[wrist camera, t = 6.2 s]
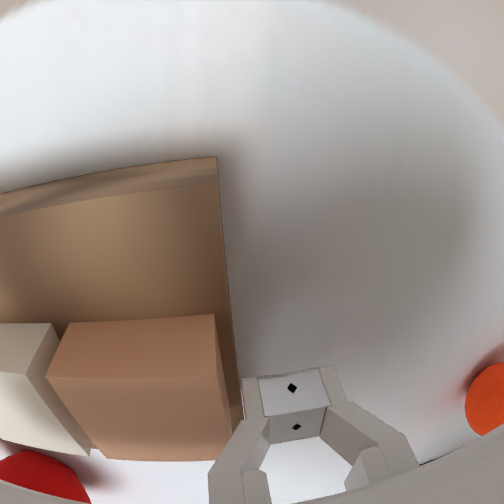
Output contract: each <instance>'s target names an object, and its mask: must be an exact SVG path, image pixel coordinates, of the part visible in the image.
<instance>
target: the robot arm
mask: <svg viewBox="0 0 504 504" xmlns="http://www.w3.org/2000/svg"><path fill="white" fill-rule="evenodd" d="M241 384H242V393H243V402H244V411H245V420H241V422H240V423H239V425H238V427H237V428H236V430H235V431H234V433H233V435H232V436H231V438H230V440H229V441H228V443H227V444H226V446H225V447H224V449H223V451H222V452H221V454H220V455H219V457H218V458H217V460H216V462H215V463H214V465H213V466H212V468H211V469H210V471H209V472H208V488H209V504H272V502H271V497H270V492H269V486H268V481H267V476H266V473H265V472H263V471H261V470H259V468H260V466H261V464H262V462H263V460H264V457H265V455H266V453H267V451H268V449H269V447H270V444H276V443H282V442H287V441H292V440H299V439H305V438H311V437H317V436H320V438H321V439H322V440H323V441H325V442H326V443H327V444H328V445H329V446H330V447H331V448H332V449H333V450H335V451H336V452H337V453H338V454H339V455H340V456H341V457H343V458H344V459H345V460H346V461H347V462H348V463H350V464H351V465H352V466H353V467H352V469H351V471H350V473H349V475H348V476H347V478H346V480H345V481H344V483H345V487H346V490H347V491H346V492H342V493H339V494H335V495H330V496H326V497H322V498H317V499H313V500H308V501H303V502H297V503H292V504H504V423H503V424H502V425H500V426H499V427H497V428H495V429H494V430H492V431H490V432H489V433H487V434H485V435H483V436H482V437H480V438H478V439H476V440H474V441H473V442H471V443H469V444H467V445H465V446H463V447H461V448H459V449H457V450H455V451H453V452H451V453H449V454H447V455H445V456H443V457H440V458H438V459H436V460H434V461H432V462H429V463H427V464H424V465H421V466H419V464H418V462H417V460H416V458H415V456H414V453H413V451H412V449H411V447H410V445H409V443H408V441H407V439H406V437H405V435H403V434H402V433H400V432H398V431H397V430H395V429H394V428H392V427H391V426H389V425H387V424H386V423H384V422H383V421H381V420H380V419H378V418H376V417H375V416H373V415H372V414H370V413H369V412H367V411H366V410H364V409H363V408H361V407H360V406H358V405H357V404H355V403H354V402H348V401H347V399H346V397H345V394H344V392H343V389H342V387H341V385H340V382H339V380H338V377H337V375H336V373H335V370H334V368H333V367H332V366H325V367H320V368H312V369H307V370H301V371H295V372H289V373H285V374H276V375H267V376H257V377H248V378H241ZM0 504H89V503H84V502H79V501H74V500H69V499H64V498H60V497H56V496H52V495H48V494H44V493H41V492H37V491H34V490H30V489H27V488H24V487H21V486H17V485H14V484H12V483H9V482H6V481H3V480H0Z"/></svg>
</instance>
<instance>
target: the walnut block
mask: <svg viewBox="0 0 504 504" xmlns="http://www.w3.org/2000/svg"><path fill="white" fill-rule="evenodd" d="M206 314H214V316H215V322H216V329H217V335H218V342H219V348H220V354H221V360H222V366H223V372H224V378H225V383H226V389H227V395H228V400H229V406H230V415H231V426H232V435H233V433H234V431H235V430H236V428H237V427H238V425H239V423H240V422H241V420H244V415H243V407H242V399H241V391H240V383H239V375H238V367H237V359H236V350H235V342H234V333H233V325H232V316H231V307H230V298H229V288H228V279H227V269H226V260H225V250H224V239H223V229H222V218H221V207H220V196H219V185H218V173H217V161H216V156H215V157H205V158H195V159H186V160H177V161H169V162H162V163H154V164H147V165H140V166H134V167H127V168H121V169H115V170H109V171H103V172H98V173H92V174H87V175H82V176H77V177H72V178H67V179H62V180H58V181H53V182H48V183H44V184H40V185H35V186H31V187H27V188H23V189H19V190H15V191H11V192H8V193H4V194H0V323H52V326H53V328H54V330H55V332H56V334H57V336H58V338H59V340H60V342H61V340H62V337H63V335H64V333H65V331H66V329H67V327H68V325H69V323H75V322H102V321H122V320H140V319H155V318H169V317H182V316H194V315H206ZM91 448H93V449H98V448H97V447H96V445H95V444H94V443H93V442H92V445H91Z"/></svg>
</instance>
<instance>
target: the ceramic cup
mask: <svg viewBox="0 0 504 504" xmlns="http://www.w3.org/2000/svg"><path fill="white" fill-rule="evenodd" d="M0 480H3V481H6V482H9V483H12V484H14V485H17V486H21V487H24V488H27V489H30V490H34V491H37V492H41V493H44V494H48V495H52V496H56V497H60V498H64V499H69V500H74V501H79V502H84V503H89V504H91V501H90V499H89V497H88V495H87V493H86V491H85V489H84V487H83V486H82V484H81V483H80V481H79V480H78V478H77V475H76V474H75V472H74V471H73V470H71V469H70V468H69V467H67V466H66V465H64V464H63V463H61V462H59V461H57V460H55V459H53V458H51V457H48V456H46V455H44V454H41V453H38V452H34V451H30V450H22V451H21V452H19V453H16V454H13V455H11V456H8V457H6V458H4V459H3V460H1V461H0Z"/></svg>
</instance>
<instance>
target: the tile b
mask: <svg viewBox="0 0 504 504" xmlns="http://www.w3.org/2000/svg"><path fill="white" fill-rule="evenodd" d="M45 377H46V378H47V380H48V382H49V383H50V385H51V386H52V388H53V389H54V391H55V392H56V394H57V395H58V397H59V398H60V399H61V401H62V402H63V404H64V405H65V407H66V408H67V409H68V411H69V412H70V413H71V415H72V416H73V418H74V419H75V420H76V422H77V423H78V424H79V425H80V427H81V428H82V429H83V431H84V432H85V433H86V434H87V436H88V437H89V438H90V439H91V441H92V442H93V443H94V444H95V445H96V447H97V448H98V449H99V450H100V451H101V452H102V454H103V455H104V456H105V457H106V458H107V459H119V460H134V461H208V460H217V458H218V457H219V455H220V454H221V452H222V451H223V449H224V447H225V446H226V444H227V443H228V441H229V440H230V438H231V436H232V426H231V415H230V406H229V400H228V395H227V389H226V383H225V378H224V372H223V366H222V360H221V354H220V348H219V342H218V335H217V329H216V322H215V316H214V314H206V315H194V316H182V317H169V318H155V319H140V320H122V321H102V322H75V323H69V325H68V327H67V329H66V331H65V333H64V335H63V337H62V340H61V342H60V344H59V346H58V348H57V350H56V352H55V355H54V357H53V359H52V361H51V364H50V366H49V368H48V370H47V373H46V375H45Z"/></svg>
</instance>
